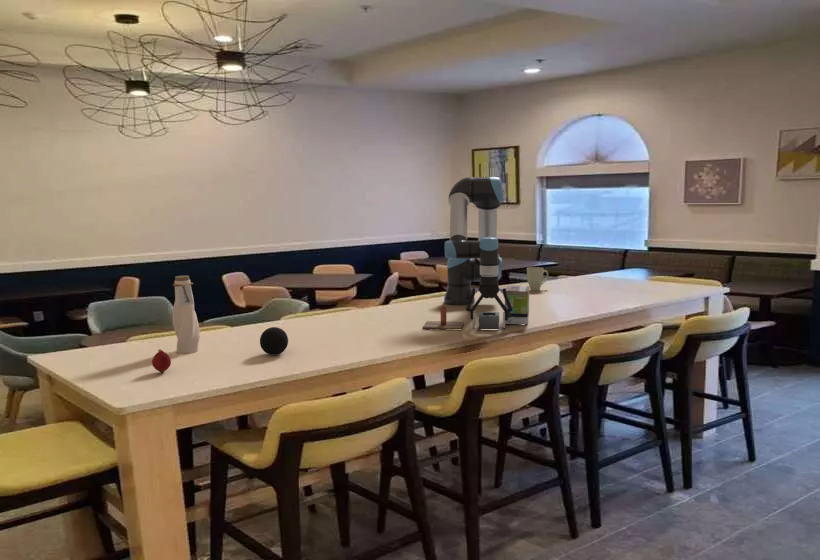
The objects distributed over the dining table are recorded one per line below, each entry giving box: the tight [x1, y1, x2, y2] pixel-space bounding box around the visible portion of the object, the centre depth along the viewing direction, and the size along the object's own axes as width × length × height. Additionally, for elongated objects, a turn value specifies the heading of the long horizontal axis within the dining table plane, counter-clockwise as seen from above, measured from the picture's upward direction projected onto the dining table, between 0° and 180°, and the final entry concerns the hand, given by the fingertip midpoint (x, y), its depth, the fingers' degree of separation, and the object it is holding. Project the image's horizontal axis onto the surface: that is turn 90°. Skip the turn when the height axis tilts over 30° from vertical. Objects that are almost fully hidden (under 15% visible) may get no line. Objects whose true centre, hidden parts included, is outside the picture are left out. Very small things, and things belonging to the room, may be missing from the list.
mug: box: [526, 266, 549, 292], centre depth 366 cm, size 11×10×12 cm
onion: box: [151, 348, 172, 373], centre depth 223 cm, size 6×6×8 cm
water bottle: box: [172, 275, 201, 354], centre depth 248 cm, size 10×9×28 cm
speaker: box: [259, 326, 289, 356], centre depth 243 cm, size 10×10×10 cm
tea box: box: [504, 285, 530, 325], centre depth 289 cm, size 15×10×15 cm, turn 168°
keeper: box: [421, 304, 465, 331], centre depth 282 cm, size 12×16×9 cm
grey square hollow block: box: [478, 311, 500, 330], centre depth 278 cm, size 8×8×6 cm
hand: (489, 327), depth 278 cm, fingers open, 11 cm apart
